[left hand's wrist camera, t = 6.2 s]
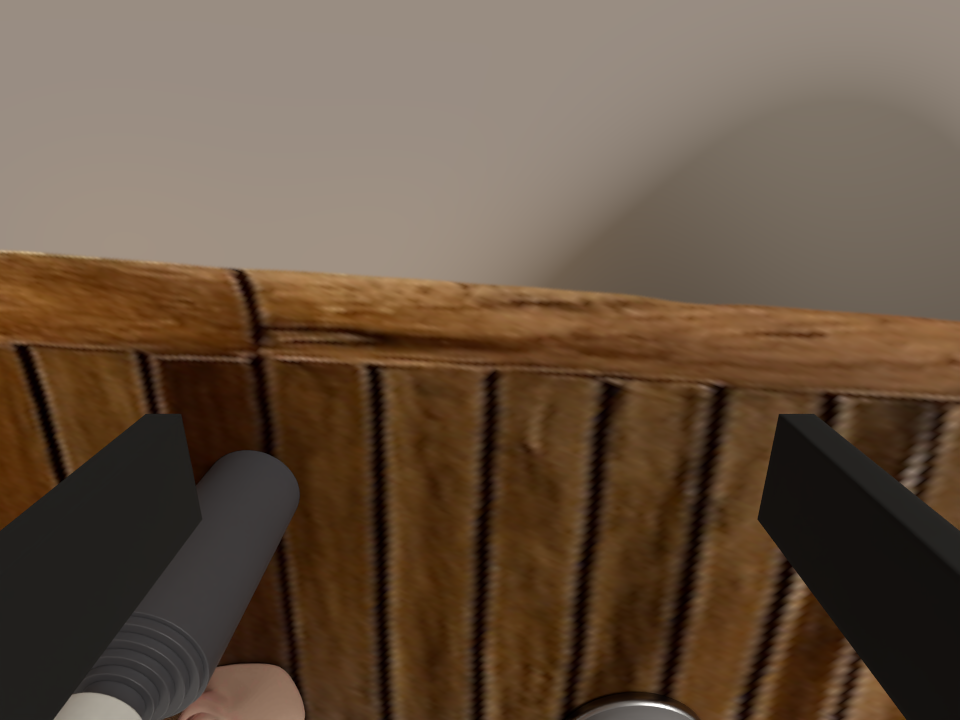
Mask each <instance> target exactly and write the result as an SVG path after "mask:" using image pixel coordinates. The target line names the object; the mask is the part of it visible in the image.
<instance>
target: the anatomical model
mask: <svg viewBox="0 0 960 720" xmlns="http://www.w3.org/2000/svg"><path fill="white" fill-rule="evenodd" d="M304 718H305V711H304V705H303V701H302V698H301V696H300V693H299V691H298V689H297V687H296V685H295V683H294V682H293V680H292V679H291V677H290V676H289V674H288V673H287V672H286V671H285V670H283V669H282V668H280V667H278V666H275V665H271V664H259V663H258V664H233V665H226V666H219V667H216V669H215V671H214V673H213V675H212V677H211V679H210V681H209V683H208V685H207V687H206V689H205V691H204V692H203V693H202V695H201V696H200V697H199V698H198V699H197V700H196V701H195V702H193V703H192V704H190V705H189V706H188V707H187V708H186V709H185V710H183V711H182V713H181V714H180V716H179V718H178V719H177V720H304Z"/></svg>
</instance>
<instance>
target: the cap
mask: <svg viewBox="0 0 960 720" xmlns="http://www.w3.org/2000/svg"><path fill="white" fill-rule="evenodd" d="M54 720H142V718H141V717H140V715H139V714H138V713H137V712H136V711H135V710H134V709H133V708H132V707H131V706H129V705H128V704H126V703H125V702H123V701H121V700H119V699H117V698H115V697H112V696H109V695H105V694H100V693H92V692H86V693H77V694H73V695H71V697H70V698H69V699H68V701H67V702H66V703H65V705H64V706H63V707H62V709H61V710H60V712H59V713H58V714H57V716H56V717H55V718H54Z"/></svg>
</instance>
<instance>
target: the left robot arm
mask: <svg viewBox="0 0 960 720" xmlns="http://www.w3.org/2000/svg"><path fill="white" fill-rule="evenodd" d="M201 521H202V515H201V510H200V505H199V500H198V495H197V490H196V485H195V480H194V475H193V471H192V466H191V461H190V456H189V451H188V446H187V441H186V436H185V431H184V427H183V422H182V417H181V414H145V415H144V416H143V417H142V418H140V419H139V420H138V421H137V422H135V423H134V424H133V425H132V426H130V427H129V428H128V429H127V430H125V431H124V432H123V433H122V434H120V435H119V436H118V437H117V438H116V439H114V440H113V441H112V442H111V443H109V444H108V445H107V446H106V447H104V448H103V449H102V450H101V451H99V452H98V453H97V454H96V455H94V456H93V457H92V458H91V459H89V460H88V461H87V462H86V463H84V464H83V465H82V466H81V467H79V468H78V469H77V470H76V471H74V472H73V473H72V474H71V475H69V476H68V477H67V478H66V479H64V480H63V481H62V482H61V483H59V484H58V485H57V486H56V487H54V488H53V489H52V490H51V491H49V492H48V493H47V494H46V495H44V496H43V497H42V498H41V499H39V500H38V501H37V502H36V503H34V504H33V505H32V506H31V507H30V508H28V509H27V510H26V511H25V512H23V513H22V514H21V515H20V516H18V517H17V518H16V519H15V520H13V521H12V522H11V523H10V524H8V525H7V526H6V527H5V528H3V529H2V530H1V531H0V720H54V718H55V717H56V716H57V714H58V713H59V712H60V710H61V709H62V707H63V706H64V705H65V703H66V702H67V701H68V699H69V698H70V697H71V695H72V694H73V693H74V691H75V690H76V689H77V687H78V686H79V685H80V683H81V682H82V681H83V679H84V678H85V677H86V675H87V674H88V673H89V671H90V670H91V668H92V667H93V666H94V664H95V663H96V662H97V660H98V659H99V658H100V656H101V655H102V654H103V652H104V651H105V650H106V648H107V647H108V646H109V644H110V643H111V642H112V640H113V639H114V638H115V636H116V635H117V634H118V632H119V631H120V629H121V628H122V627H123V625H124V624H125V623H126V621H127V620H128V619H129V617H130V616H131V615H132V613H133V612H134V611H135V609H136V608H137V607H138V605H139V604H140V603H141V601H142V600H143V599H144V597H145V596H146V595H147V593H148V592H149V590H150V589H151V588H152V586H153V585H154V584H155V582H156V581H157V580H158V578H159V577H160V576H161V574H162V573H163V572H164V570H165V569H166V568H167V566H168V565H169V564H170V562H171V561H172V560H173V558H174V557H175V556H176V554H177V553H178V552H179V550H180V549H181V547H182V546H183V545H184V543H185V542H186V541H187V539H188V538H189V537H190V535H191V534H192V533H193V531H194V530H195V529H196V527H197V526H198V525H199V523H200V522H201ZM758 521H759V522H760V523H761V525H762V526H763V527H764V529H765V530H766V531H767V533H768V534H769V535H770V537H771V538H772V539H773V541H774V542H775V543H776V545H777V546H778V547H779V549H780V550H781V552H782V553H783V554H784V556H785V557H786V558H787V560H788V561H789V562H790V564H791V565H792V566H793V568H794V569H795V570H796V572H797V573H798V574H799V576H800V577H801V578H802V580H803V581H804V582H805V584H806V585H807V586H808V588H809V589H810V591H811V592H812V593H813V595H814V596H815V597H816V599H817V600H818V601H819V603H820V604H821V605H822V607H823V608H824V609H825V611H826V612H827V613H828V615H829V616H830V617H831V619H832V620H833V621H834V623H835V624H836V625H837V627H838V628H839V629H840V631H841V632H842V634H843V635H844V636H845V638H846V639H847V640H848V642H849V643H850V644H851V646H852V647H853V648H854V650H855V651H856V652H857V654H858V655H859V656H860V658H861V659H862V660H863V662H864V663H865V664H866V666H867V667H868V668H869V670H870V671H871V673H872V674H873V675H874V677H875V678H876V679H877V681H878V682H879V683H880V685H881V686H882V687H883V689H884V690H885V691H886V693H887V694H888V695H889V697H890V698H891V699H892V701H893V702H894V703H895V705H896V706H897V707H898V709H899V710H900V712H901V713H902V714H903V716H904V717H905V718H906V720H960V531H959V530H958V529H957V528H955V527H954V526H953V525H952V524H950V523H949V522H948V521H947V520H945V519H944V518H943V517H942V516H940V515H939V514H938V513H937V512H935V511H934V510H933V509H932V508H930V507H929V506H928V505H927V504H926V503H924V502H923V501H922V500H921V499H919V498H918V497H917V496H916V495H914V494H913V493H912V492H911V491H909V490H908V489H907V488H906V487H904V486H903V485H902V484H901V483H899V482H898V481H897V480H896V479H894V478H893V477H892V476H891V475H889V474H888V473H887V472H886V471H884V470H883V469H882V468H881V467H879V466H878V465H877V464H876V463H874V462H873V461H872V460H871V459H869V458H868V457H867V456H866V455H864V454H863V453H862V452H861V451H859V450H858V449H857V448H856V447H854V446H853V445H852V444H851V443H849V442H848V441H847V440H846V439H844V438H843V437H842V436H841V435H840V434H838V433H837V432H836V431H835V430H833V429H832V428H831V427H830V426H828V425H827V424H826V423H825V422H823V421H822V420H821V419H820V418H818V417H817V416H816V415H815V414H779V417H778V422H777V427H776V431H775V436H774V441H773V446H772V451H771V456H770V461H769V466H768V471H767V475H766V480H765V485H764V490H763V495H762V500H761V505H760V510H759V515H758ZM565 720H700V718H699V717H698V716H697V715H696V714H695V713H694V712H693V711H692V710H691V709H690V708H688V707H687V706H686V705H684V704H682V703H680V702H679V701H676V700H674V699H672V698H669V697H666V696H662V695H658V694H652V693H642V692H632V693H621V694H615V695H610V696H606V697H603V698H600V699H597V700H594V701H592V702H590V703H588V704H586V705H584V706H582V707H581V708H579V709H577V710H576V711H575V712H573V713H572V714H571V715H570V716H569V717H568V718H566V719H565Z"/></svg>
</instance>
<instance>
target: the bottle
mask: <svg viewBox="0 0 960 720" xmlns="http://www.w3.org/2000/svg"><path fill="white" fill-rule="evenodd" d="M196 490H197V495H198V500H199V505H200V510H201V515H202V521H201V522H200V523H199V525H198V526H197V527H196V529H195V530H194V531H193V533H192V534H191V535H190V537H189V538H188V539H187V541H186V542H185V543H184V545H183V546H182V547H181V549H180V550H179V552H178V553H177V554H176V556H175V557H174V558H173V560H172V561H171V562H170V564H169V565H168V566H167V568H166V569H165V570H164V572H163V573H162V574H161V576H160V577H159V578H158V580H157V581H156V582H155V584H154V585H153V586H152V588H151V589H150V590H149V592H148V593H147V595H146V596H145V597H144V599H143V600H142V601H141V603H140V604H139V605H138V607H137V608H136V609H135V611H134V612H133V613H132V615H131V616H130V617H129V619H128V620H127V621H126V623H125V624H124V625H123V627H122V628H121V629H120V631H119V632H118V634H117V635H116V636H115V638H114V639H113V640H112V642H111V643H110V644H109V646H108V647H107V648H106V650H105V651H104V652H103V654H102V655H101V656H100V658H99V659H98V660H97V662H96V663H95V664H94V666H93V667H92V668H91V670H90V671H89V673H88V674H87V675H86V677H85V678H84V679H83V681H82V682H81V683H80V685H79V686H78V687H77V689H76V690H75V691H74V693H73V694H77V693H86V692H92V693H100V694H105V695H109V696H112V697H115V698H117V699H119V700H121V701H123V702H125V703H126V704H128V705H129V706H131V707H132V708H133V709H134V710H135V711H136V712H137V713H138V714H139V715H140V717H141V718H142V720H162V719H164V718H168V717H171V716H174V715H176V714H178V713H180V712H182V711H183V710H185V709H186V708H187V707H188V706H189V705H190V704H192V703H193V702H195V701H196V700H197V699H198V698H199V697H200V696H201V695H202V693H203V692H204V691H205V689H206V687H207V685H208V683H209V681H210V679H211V677H212V675H213V673H214V671H215V669H216V667H217V665H218V663H219V661H220V659H221V657H222V655H223V653H224V651H225V649H226V647H227V645H228V643H229V641H230V639H231V637H232V635H233V633H234V631H235V629H236V627H237V625H238V623H239V621H240V619H241V618H242V616H243V614H244V612H245V610H246V608H247V606H248V604H249V602H250V600H251V598H252V596H253V594H254V592H255V590H256V588H257V586H258V584H259V582H260V580H261V578H262V576H263V574H264V572H265V570H266V568H267V566H268V564H269V562H270V560H271V558H272V556H273V554H274V552H275V550H276V548H277V546H278V544H279V542H280V540H281V538H282V536H283V534H284V532H285V530H286V528H287V526H288V524H289V522H290V520H291V518H292V516H293V515H294V513H295V511H296V509H297V506H298V503H299V497H300V495H299V487H298V483H297V481H296V479H295V477H294V475H293V474H292V472H291V471H290V470H289V469H288V467H287V466H286V465H284V464H283V463H282V462H281V461H279V460H278V459H276V458H274V457H273V456H270V455H268V454H265V453H262V452H258V451H251V450H242V451H236V452H232V453H229V454H227V455H225V456H223V457H222V458H220V459H219V460H218V461H216V463H215V464H214V465H213V466H212V467H211V468H210V470H209V471H208V472H207V473H206V474H205V476H204V477H203V478H202V479H201V480H200V482H199V483H198V484H197V485H196Z"/></svg>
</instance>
